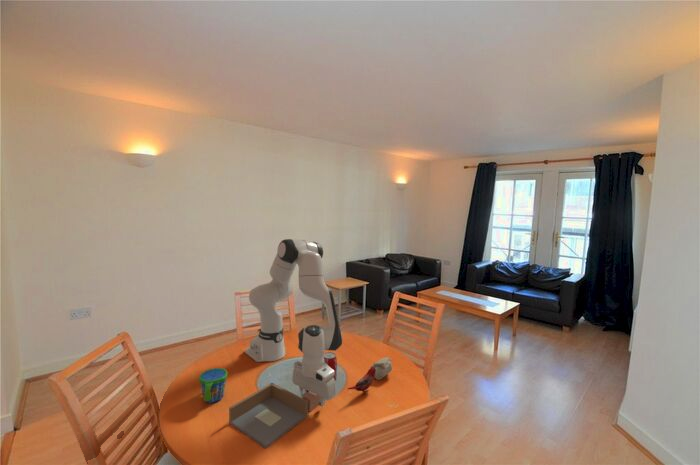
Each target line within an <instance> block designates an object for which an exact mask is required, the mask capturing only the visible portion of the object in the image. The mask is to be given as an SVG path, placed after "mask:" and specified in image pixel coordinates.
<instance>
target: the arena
mask: <svg viewBox="0 0 700 465" xmlns="http://www.w3.org/2000/svg"><path fill="white" fill-rule="evenodd" d="M228 412H229V413H228V423H229V424H230V425H231V426H233V427H235V428H236V429H237V430H239V432H241V433H243V434H244V435H246V436H247V437H249V439H250V438H251V440H253V441H254V442H256V443H257V444H258V445H260V446H261V447H263V448H264V449H267V448H268V447H270V446H271V445H272V444H273V443H275V442H276V441H277V440H279V439H280V438H281V437H283V436H284V435H285V434H286V433H288V432H289V431H290V430H292V429H293V428H294V427H296V426H297V425H298V424H299V423H301V422H302V421H303V420H304V419H306V418H307V417H309V416H308V415H309V411H308V401H307V400H305V399H303V397H302V396H299V395H297V394H295V393H293V392H290V391H289V390H287V389H285V388H283V387H281V386H279V385H278V384H276V383H273V382H271V383H269V384H267V385H265V386H264V387H262V388H260V389H259V390H257V391H255V392H254V393H252V394H249V395H248V396H247V397H245V398H243V399H241V400H239V401H238V402H236V403H234V404H232V405H231V406H229V407H228Z"/></svg>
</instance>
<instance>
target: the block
mask: <svg viewBox="0 0 700 465" xmlns="http://www.w3.org/2000/svg"><path fill="white" fill-rule="evenodd" d="M302 398H303V399H305V400H307V401H308V412H311V411H313V410H314V409H316V408H317V407H319V401H321V400H322V399H321V396H318V395H316V394H314V393H312V392H310V391H308V392H307V393H306V394H305V395H303V397H302Z"/></svg>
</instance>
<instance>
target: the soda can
mask: <svg viewBox="0 0 700 465" xmlns="http://www.w3.org/2000/svg"><path fill="white" fill-rule="evenodd" d="M324 362H325V363H326V364H327V365H328V366H329V367H330V368H332V369H333V370H334V371H335V375H334V376H333V378H334V379H335V382H336V381H337V377H338V358H337V355H336V353H335V352H332V351H329V352H324Z"/></svg>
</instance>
